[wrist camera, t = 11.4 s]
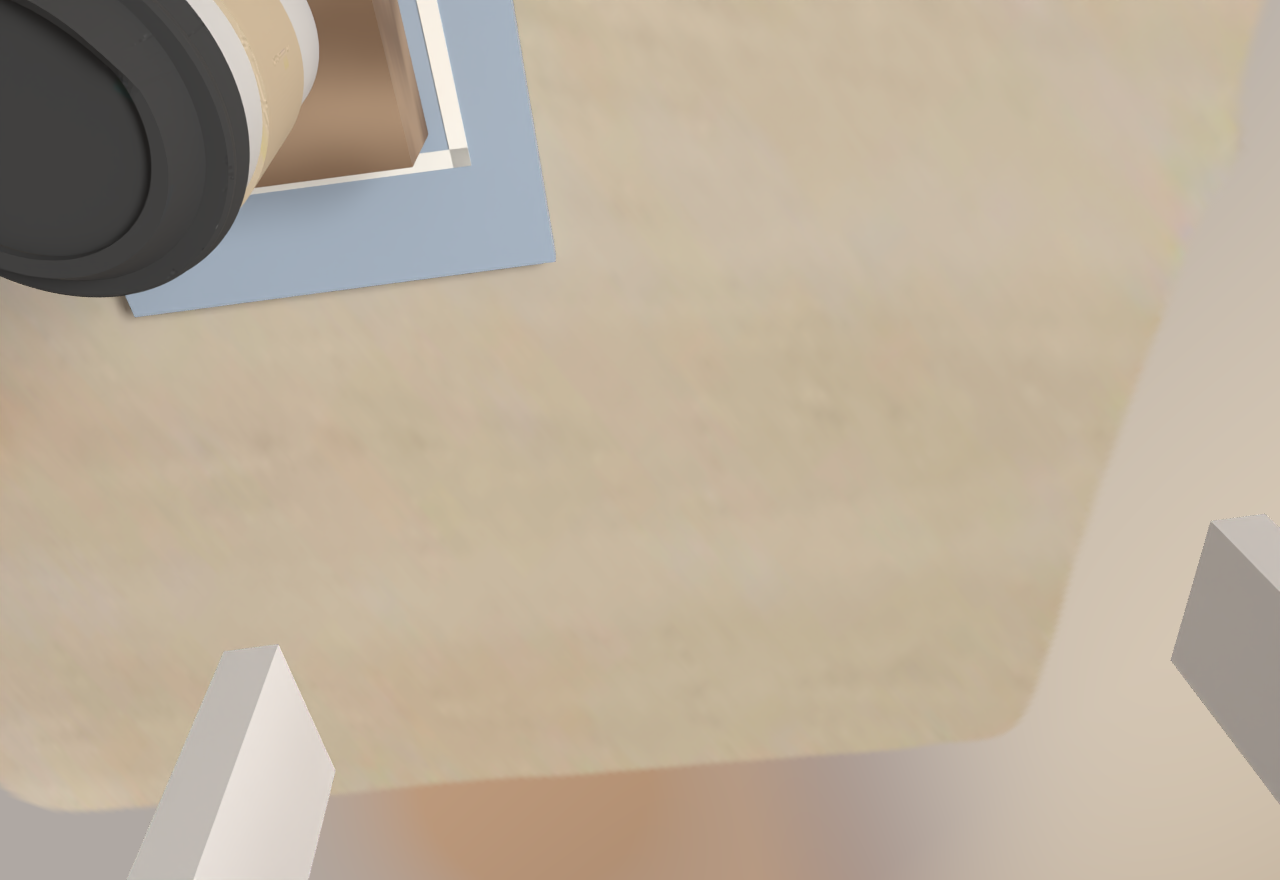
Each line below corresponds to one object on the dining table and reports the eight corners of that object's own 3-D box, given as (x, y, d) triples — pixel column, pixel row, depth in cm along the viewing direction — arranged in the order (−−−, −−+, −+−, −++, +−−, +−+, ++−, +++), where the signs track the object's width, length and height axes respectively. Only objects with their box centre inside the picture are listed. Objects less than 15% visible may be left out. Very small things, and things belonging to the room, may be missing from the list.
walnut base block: (62, -130, 34) (-10, -128, 30) (358, -169, 34) (329, -173, 30) (176, 167, 40) (130, 204, 35) (428, 134, 40) (412, 167, 36)
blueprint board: (-143, -338, 31) (-163, -343, 30) (442, -414, 31) (439, -422, 30) (143, 308, 44) (134, 317, 43) (555, 253, 44) (555, 262, 43)
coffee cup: (273, 207, 36) (115, 397, 23) (38, 51, 32) (-299, 176, 20) (398, 12, 33) (291, 111, 20) (150, -186, 29) (-171, -218, 16)
